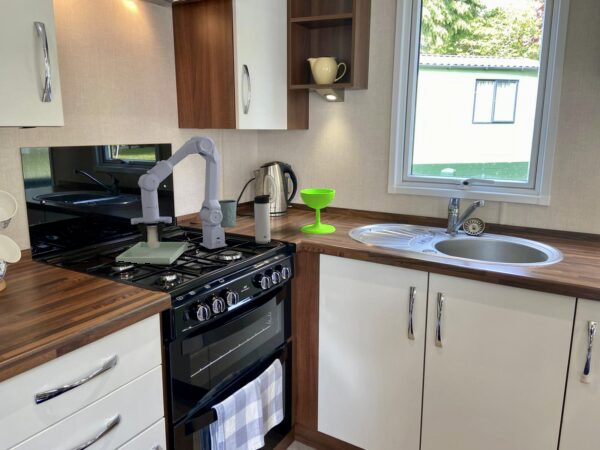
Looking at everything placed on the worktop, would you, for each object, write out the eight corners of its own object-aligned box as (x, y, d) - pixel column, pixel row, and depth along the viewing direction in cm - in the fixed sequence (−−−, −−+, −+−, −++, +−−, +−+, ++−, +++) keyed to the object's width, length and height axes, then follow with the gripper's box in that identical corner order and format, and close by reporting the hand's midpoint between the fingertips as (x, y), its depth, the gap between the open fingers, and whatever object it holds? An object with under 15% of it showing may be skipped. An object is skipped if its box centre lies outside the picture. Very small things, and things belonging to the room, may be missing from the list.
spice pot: (161, 247, 182) (160, 226, 181) (149, 249, 179) (148, 227, 178) (157, 245, 186) (156, 225, 184) (145, 247, 183) (144, 226, 182)
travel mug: (269, 244, 196) (267, 196, 192) (253, 243, 198) (251, 195, 193) (272, 240, 202) (271, 193, 198) (257, 239, 204) (256, 193, 199)
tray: (140, 247, 194) (139, 242, 194) (188, 247, 193) (188, 242, 192) (116, 263, 173) (115, 257, 172) (170, 264, 171) (169, 258, 171)
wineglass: (341, 231, 215) (341, 192, 211) (308, 235, 210) (308, 195, 206) (326, 224, 230) (326, 187, 226) (295, 228, 224) (294, 189, 220)
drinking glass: (212, 226, 229) (210, 202, 226) (224, 222, 237) (223, 198, 235) (229, 228, 224) (228, 203, 221) (241, 224, 233) (240, 200, 230)
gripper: (171, 204, 183) (174, 238, 186) (132, 205, 182) (135, 239, 185) (169, 207, 176) (171, 242, 179) (128, 208, 175) (131, 244, 178)
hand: (153, 241), depth 182 cm, fingers closed on spice pot, 4 cm apart
